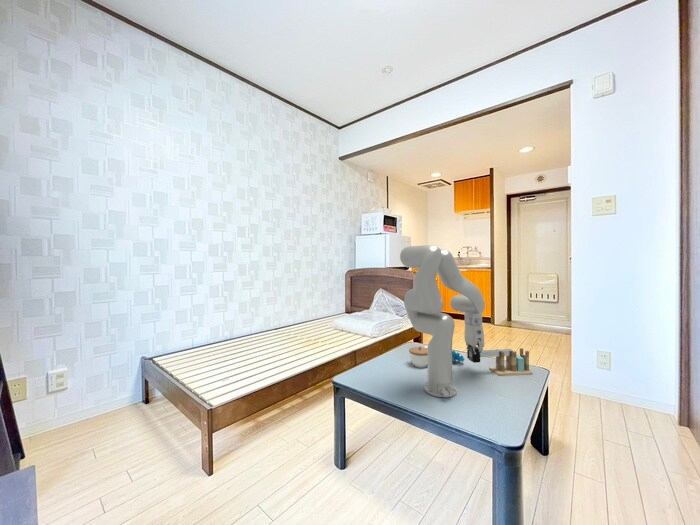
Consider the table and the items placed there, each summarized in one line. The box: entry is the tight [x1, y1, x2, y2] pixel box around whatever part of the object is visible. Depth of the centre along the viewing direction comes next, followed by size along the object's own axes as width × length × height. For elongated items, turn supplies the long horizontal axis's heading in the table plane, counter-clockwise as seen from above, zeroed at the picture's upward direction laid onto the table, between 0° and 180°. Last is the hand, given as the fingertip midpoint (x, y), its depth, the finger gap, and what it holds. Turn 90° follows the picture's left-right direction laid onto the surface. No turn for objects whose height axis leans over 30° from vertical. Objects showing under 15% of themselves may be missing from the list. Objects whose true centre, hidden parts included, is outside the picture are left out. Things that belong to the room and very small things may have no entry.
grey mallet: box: [468, 347, 514, 363], centre depth 133 cm, size 4×20×6 cm, turn 95°
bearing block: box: [488, 347, 533, 377], centre depth 134 cm, size 8×16×10 cm, turn 95°
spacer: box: [516, 353, 524, 372], centre depth 135 cm, size 6×2×6 cm, turn 175°
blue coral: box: [452, 349, 466, 364], centre depth 146 cm, size 11×6×10 cm
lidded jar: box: [408, 345, 428, 368], centre depth 144 cm, size 11×11×9 cm
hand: (473, 359), depth 133 cm, fingers open, 4 cm apart
